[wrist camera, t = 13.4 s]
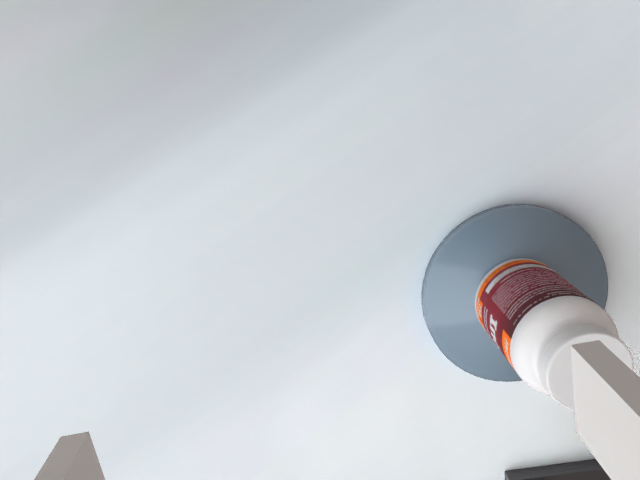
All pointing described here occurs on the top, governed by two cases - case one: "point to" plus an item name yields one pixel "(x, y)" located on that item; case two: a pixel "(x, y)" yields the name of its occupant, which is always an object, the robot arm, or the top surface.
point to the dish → (483, 255)
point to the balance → (561, 472)
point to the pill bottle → (542, 324)
